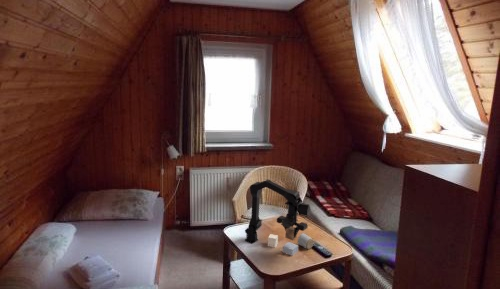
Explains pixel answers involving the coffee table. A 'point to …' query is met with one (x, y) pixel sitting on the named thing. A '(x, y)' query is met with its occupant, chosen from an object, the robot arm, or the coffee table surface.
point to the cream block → (272, 240)
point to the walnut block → (290, 233)
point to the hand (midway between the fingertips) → (291, 235)
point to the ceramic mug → (305, 241)
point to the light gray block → (290, 248)
